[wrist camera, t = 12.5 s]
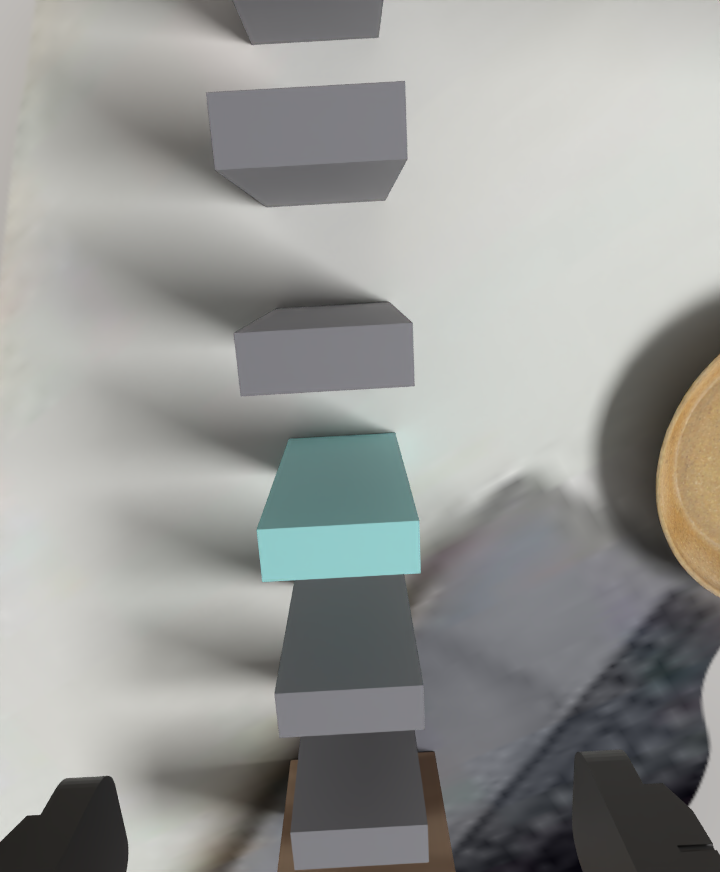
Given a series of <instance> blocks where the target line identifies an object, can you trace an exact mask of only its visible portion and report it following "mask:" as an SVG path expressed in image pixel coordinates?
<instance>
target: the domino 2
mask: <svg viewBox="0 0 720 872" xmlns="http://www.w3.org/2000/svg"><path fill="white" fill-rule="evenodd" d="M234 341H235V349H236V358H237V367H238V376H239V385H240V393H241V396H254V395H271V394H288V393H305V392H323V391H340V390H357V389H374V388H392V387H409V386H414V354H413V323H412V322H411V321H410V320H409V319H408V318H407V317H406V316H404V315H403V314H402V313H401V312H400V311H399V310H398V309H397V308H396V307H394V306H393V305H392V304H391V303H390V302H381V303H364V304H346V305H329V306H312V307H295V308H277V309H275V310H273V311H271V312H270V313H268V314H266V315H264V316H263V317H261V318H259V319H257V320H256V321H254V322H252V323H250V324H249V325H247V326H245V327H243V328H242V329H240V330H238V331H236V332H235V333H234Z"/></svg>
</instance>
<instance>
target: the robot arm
mask: <svg viewBox="0 0 720 872" xmlns="http://www.w3.org/2000/svg"><path fill="white" fill-rule="evenodd" d="M572 828H573V836H574V842H575V846H576V851H577V855H578V858H579V862H580V864H581V867H582V870H583V872H720V855H719V853H718V851H717V850H714V848H713V843H712V842H711V840H710V838H709V837H708V835H707V833H706V832H705V830H704V829H703V827H702V825H701V824H700V822H699V820H698V819H697V817H696V815H695V814H694V812H693V811H692V810H691V809H690V808H689V807H688V806H687V805H686V804H685V803H684V802H683V801H682V800H680V799H679V798H678V797H677V796H676V795H675V794H674V793H673V792H672V791H671V790H670V789H668V788H667V787H666V786H665V785H664V784H663V783H657V784H643V783H642V781H641V779H640V777H639V776H638V774H637V772H636V770H635V768H634V767H633V765H632V763H631V761H630V759H629V758H628V756H627V755H626V753H625V752H624V751H623V750H603V751H585V752H577V753H576V755H575V760H574V783H573V807H572ZM127 864H128V840H127V836H126V831H125V827H124V822H123V818H122V814H121V809H120V805H119V800H118V796H117V792H116V787H115V783H114V781H113V779H112V778H111V777H110V776H100V777H82V778H66V779H64V780H63V781H61V782H60V784H59V785H58V786H57V788H56V789H55V791H54V793H53V794H52V796H51V798H50V800H49V801H48V803H47V805H46V806H45V808H44V810H43V812H42V813H41V815H31V816H26V817H25V818H24V819H23V820H22V821H21V822H20V823H19V824H18V825H17V826H16V827H15V828H14V829H13V830H12V831H11V832H10V833H9V834H8V835H7V836H6V837H5V838H4V839H3V840H2V841H1V842H0V872H126V870H127Z"/></svg>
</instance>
